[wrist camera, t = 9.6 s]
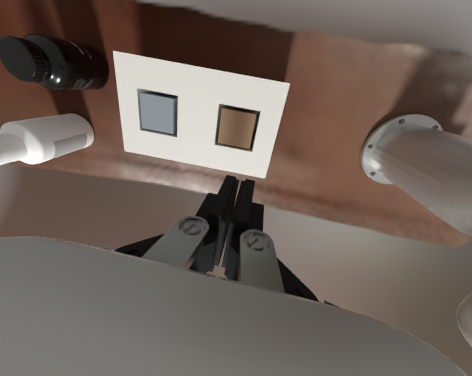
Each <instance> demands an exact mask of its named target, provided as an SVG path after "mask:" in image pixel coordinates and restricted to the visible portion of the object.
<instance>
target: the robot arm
mask: <svg viewBox="0 0 472 376" xmlns="http://www.w3.org/2000/svg"><path fill="white" fill-rule="evenodd" d="M399 120H400V121H399ZM360 161H361V166H362V169H363V170H364V172H365V173H366V174H367V175H368V176H369V177H370V178H371V179H373V180H374V181H377V182H379V183H384V184H395V185H396V186H397V187H399V188H400V189H402V190H403V191H404V192H406V193H407V194H408V195H410V196H411V197H412V198H414V199H415V200H417V201H418V202H419V203H421V204H422V205H423V206H425V207H426V208H427V209H429V210H430V211H432V212H433V213H434V214H436V215H437V216H438V217H440V218H441V219H443V220H444V221H445V222H447V223H448V224H450V225H451V226H453V227H454V228H456V229H457V230H459V231H462V232H464V233H466V234H469V235H472V138H469V137H465V136H461V135H457V134H453V133H449V132H445V131H443V129H442V127H441V125H440V124H439V123H438V122H437V121H436V120H434V119H433V118H431V117H428V116H425V115H420V114H406V115H400V116H397V117H395V118H392V119H390V120H388V121H386V122H384V123H383V124H381V125H380V126H379V127H377V128H376V129H375V130H374V131H373V132H372V133H371V134H370V136H369V137H368V138H367V140H366V141H365V143H364V145H363V148H362V151H361V156H360ZM238 183H239V180H237V179H236V177H234V176H230V175H227V176H226V178H225V180H224V182H223V184H222V186H221V188H220V190H219V192H218V194H212V193H208V194H207V196H206V198H205V200H204V202H203V203H202V205H201V207H200V209H199V210H198V212H197V214H196V215H195V216H185V217H183V218H181V219H179V220H178V221H177V222H176V223H175V224H174V225H173V226H172V227H171V228H170V229H169V230H168V231H167V232H166V233H165V234H162V235H159V236H156V237H152V238H149V239H146V240H142V241H139V242H136V243H133V244H130V245H126V246H123V247H121V248H118V249H116V250H115V251H112V249H111V248H98V247H93V246H89V245H84V244H79V243H73V242H69V241H64V240H59V239H51V238H43V237H23V236H22V237H1V238H0V376H467V375H466V374H465V373H464V372H463V371H462V370H461V369H460V368H459V367H458V366H457V365H456V364H455V363H453V362H452V361H451V360H450V359H449V358H447V357H446V356H444V355H443V354H442V353H440V352H439V351H438V350H436V349H435V348H433V347H431V346H430V345H429V344H427V343H425V342H423V341H422V340H420V339H418V338H416V337H415V336H413V335H411V334H409V333H408V332H406V331H404V330H401V329H399V328H397V327H395V326H393V325H391V324H388V323H386V322H383V321H380V320H378V319H375V318H372V317H370V316H367V315H364V314H360V313H357V312H353V311H350V310H346V309H343V308H340V307H338V306H335V305H333V304H331V303H329V302H327V301H323V302H320V301H318V299H317V298H316V296H315V295H314V294H313V293H312V292H311V291H310V290H309V289H308V288H307V287H306V286H305V285H304V284H303V283H302V282H301V281H300V280H299V279H298V278H297V277H296V276H295V275H294V274H293V273H292V272H291V271H290V270H289V269H288V268H287V267H286V266H285V265H284V264H283V263H282V262H281V261H280V260H279V259H278V258H277V256H276V252H275V248H274V244H273V241H272V239H271V238H270V236H269V235H267V234H266V233H264V232H263V214H264V205H262V204H258V203H253V202H252V197H253V191H254V184H255V181H253V180H248V179H246V181H242V182H241V185H240V189H239V192H238V195H237V199H236V194H237V189H238ZM235 199H236V202H235ZM234 204H235V206H234ZM227 234H228V236H227ZM226 238H227V241H226ZM225 241H226V246H225V252H224V257H223V262H222V267H224V268H225V273H224V274H225V275H226V277H227V278H228V279H226V278H222V277H218V276H214V275H210V274H206V272H208V271H211V272H212V271H213V268H214V265H216V266H219V262H220V259H221V255H222V252H223V248H224V245H225ZM457 322H458V325H459V328H460V330H461V332H462V334H463V336H464V337H465V339H466V340H467V342H468V343H469V344H470V345H471V347H472V292H471V293H470V294H469V295H468V296H467V297H466V298H465V299H464V300H463V301H462V302H461V304H460V305H459V308H458V310H457Z"/></svg>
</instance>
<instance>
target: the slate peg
mask: <svg viewBox="0 0 472 376" xmlns="http://www.w3.org/2000/svg"><path fill="white" fill-rule="evenodd" d="M140 108H141V122H142V128H144V129H149V130H155V131H160V132H165V133H170V134H174V133H176V132H177V118H178V96H176V95H171V94H166V93H160V92H142V93H140Z"/></svg>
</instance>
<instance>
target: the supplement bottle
mask: <svg viewBox="0 0 472 376" xmlns="http://www.w3.org/2000/svg"><path fill="white" fill-rule="evenodd" d="M0 60H1V62H2V64H3V65H4V66H5V68H6V69H7V70H8V72H9V73H11V74H12V75H13V76H14V77H15V78H18V79H19V80H22V81H27V82H35V83H39V84H41V85H42V86H44V87H46V88H49V89H53V90H96V89H100V88H102V87H104V86H105V84H106V83H107V80H108V69H107V65H106V63H105V61H104V59H103V58H102V56H101V55H100V54H99V53H98V52H97V51H96V50H95V49H93V48H92V47H90V46H88V45H84V44H81V43H76V42H72V41H68V40H64V39H60V38H56V37H52V36H48V35H44V34H39V33H31V34H28V35H26V36H24V37H23V38H17V37H12V36H6V37H3V38H1V39H0Z"/></svg>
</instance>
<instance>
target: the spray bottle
mask: <svg viewBox="0 0 472 376" xmlns="http://www.w3.org/2000/svg"><path fill="white" fill-rule="evenodd" d="M93 141H94V131H93V129H92V127H91V125H90V124H89V123H88V121H87V120H85V119H84V118H83V117H81V116H79V115H77V114H72V113H69V114H62V115H55V116H48V117H41V118H34V119H27V120H20V121H13V122H8V123H5V124H4V125H3V126H2V127H1V130H0V165H2V164H5V163H9V162H14V161H17V160H20V161H22V162H24V163H28V164H39V163H42V162H45V161H48V160H51V159H53V158H56V157H59V156H62V155H65V154H68V153H71V152H73V151H76V150H79V149H82V148H85V147H88V146H89V145H91V144H92V142H93Z"/></svg>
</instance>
